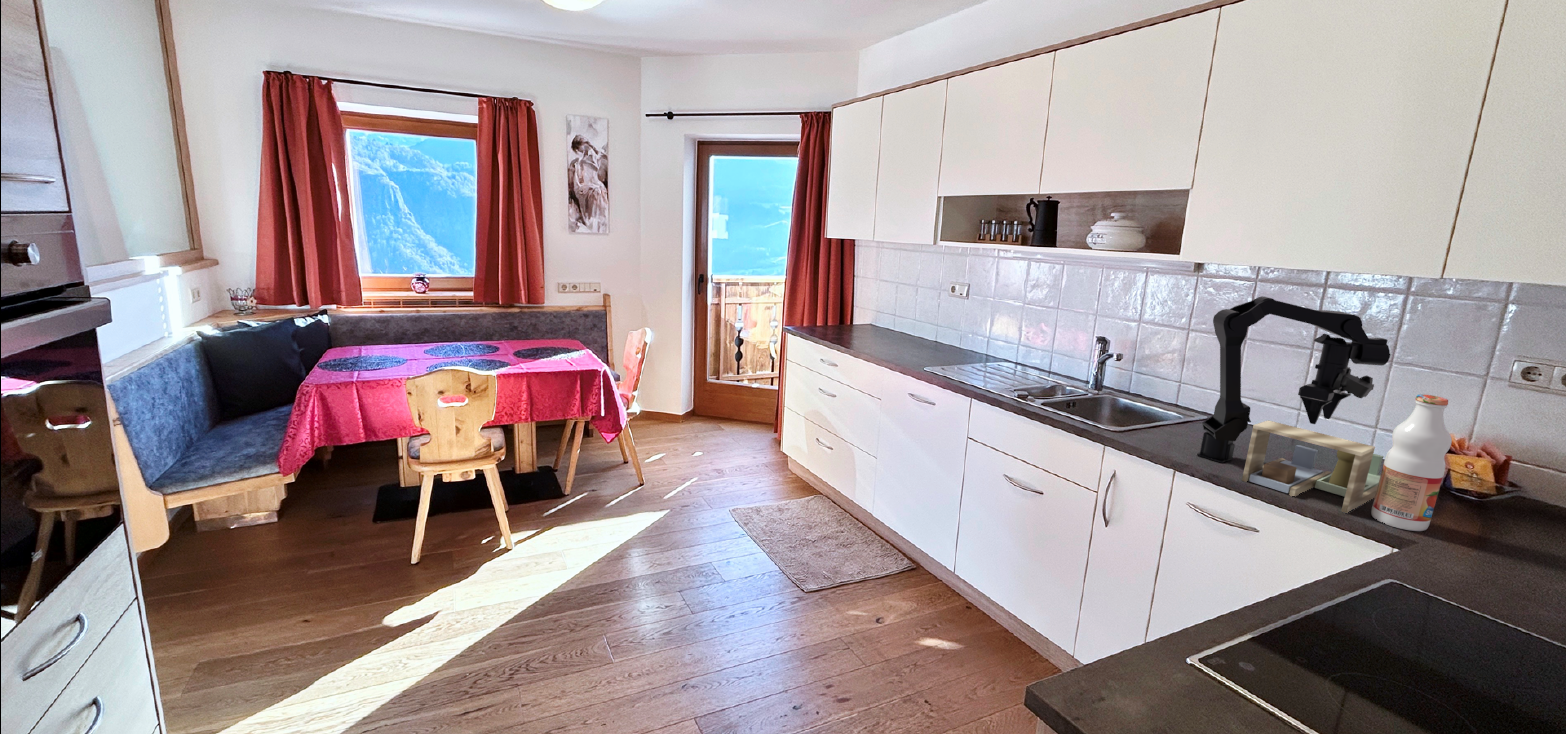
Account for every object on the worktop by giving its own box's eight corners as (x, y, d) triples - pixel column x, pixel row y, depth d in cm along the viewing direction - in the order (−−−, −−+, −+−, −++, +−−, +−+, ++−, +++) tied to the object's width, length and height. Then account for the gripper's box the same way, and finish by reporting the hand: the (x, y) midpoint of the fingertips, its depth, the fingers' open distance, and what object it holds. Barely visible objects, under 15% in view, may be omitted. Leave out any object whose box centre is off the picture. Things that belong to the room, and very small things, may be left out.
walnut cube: (1259, 483, 166) (1264, 464, 165) (1268, 479, 169) (1273, 460, 168) (1283, 490, 162) (1287, 471, 161) (1292, 486, 165) (1296, 467, 164)
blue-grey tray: (1249, 481, 166) (1254, 455, 165) (1283, 466, 177) (1289, 442, 175) (1287, 493, 159) (1293, 466, 158) (1321, 477, 170) (1327, 452, 169)
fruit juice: (1363, 509, 153) (1394, 388, 147) (1416, 518, 150) (1450, 395, 143) (1379, 526, 145) (1413, 399, 138) (1436, 536, 141) (1474, 406, 135)
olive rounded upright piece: (1328, 493, 162) (1339, 449, 159) (1323, 484, 167) (1333, 442, 164) (1360, 499, 159) (1372, 454, 156) (1354, 490, 164) (1365, 447, 161)
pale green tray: (1314, 487, 164) (1321, 461, 162) (1346, 472, 175) (1352, 448, 173) (1356, 500, 157) (1363, 473, 156) (1386, 483, 168) (1393, 458, 167)
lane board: (1241, 480, 167) (1253, 424, 164) (1279, 465, 179) (1291, 412, 176) (1346, 514, 150) (1362, 452, 147) (1380, 494, 162) (1395, 437, 159)
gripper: (1359, 373, 160) (1344, 436, 164) (1387, 365, 171) (1371, 425, 174) (1304, 363, 169) (1290, 423, 173) (1333, 356, 180) (1320, 413, 183)
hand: (1319, 421), depth 176 cm, fingers open, 9 cm apart
